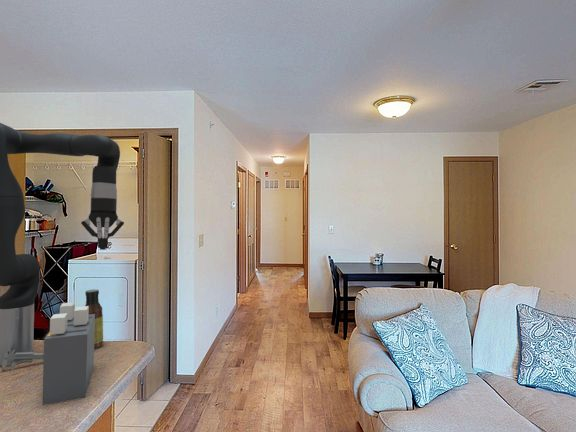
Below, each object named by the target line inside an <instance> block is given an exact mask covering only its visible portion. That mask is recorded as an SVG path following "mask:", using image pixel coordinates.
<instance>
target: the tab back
mask: <svg viewBox="0 0 576 432" xmlns="http://www.w3.org/2000/svg"><path fill="white" fill-rule="evenodd" d="M75 308H76V302H75V301H74V302H62V303H61V304H60V306H59V314H64V313H68V314H67V320H72V319H73V317H74V310H75Z"/></svg>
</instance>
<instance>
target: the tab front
mask: <svg viewBox="0 0 576 432" xmlns="http://www.w3.org/2000/svg"><path fill="white" fill-rule="evenodd" d="M67 314H68V313H64V314H60V313H56V314H55V313H54V314H52V316H51V317H50V318H49V332H50V335H54V334H63V333H65V331H66V329H67Z"/></svg>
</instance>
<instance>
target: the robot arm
mask: <svg viewBox="0 0 576 432" xmlns="http://www.w3.org/2000/svg"><path fill="white" fill-rule="evenodd" d="M18 154H19V155H21V154H50V155H58V156H59V155H60V156H69V157H85V156H91V157H97V158H98V159H97V164H96V165H95V166H93V168H92V171H91V172H92V174H91V175H92V176H91V177H92V178H91V181H92V182H91V188H90V213H89V214H88V218H86V219H84V220H82V221H81V223H80V224H81V225H82V226H83V227H84V228H85V230H86V231H87V232H88V233H89V235H90V236H92V237H95V238H97V248H98V249H99V250H102V251H104V250H106V249H107V248H108V246H109V238H111V237H114V235H116V233H117V232H118V231H119V230H120V229H121V228H122V226H124V224H125V222H124V221H122V220H121V219H119V216H118V214H117V201H118V200H117V199H118V190H117V170H118V167H119V163H120V158H121V150H120V146H119V144H118V142H117V141H115V140H113V139H112V138H109V137H108V136H106V135H102V134H75V133H73V134H72V133H64V132H63V133H60V132H57V133H55V132H53V133H45V134H42V133H41V134H36V133H35V134H34V133H29V132H25V131H20V130H17V129H15V128H13V127H11V126H9V125H6V124H4V123H2V122H0V287H9V288H8V290H6V292H4V293H3V294H2V295H1V296H0V367H2V361H3V358H4V356H5V353H8V352H9V349H10V352H12V351H13V350H14V349H15V351H14V354H15V353H25V352H34V327H35V326H34V325H35V324H34V323H35V299H36V297H37V296H38V291H39V283H40V282H39V280H40V264H39V261H38V259H37V257H35V255H32V254H31V253H21V254H20V253H19V254H16V253H17V252H16V237H17V234H18V231H19V229H20V227H21V225H22V223H23V221H24V218H25V215H26V205H25V196H24V192H23V189H22V187H21V185H20V183H19V182H18V179H17V178H16V176H15V174H14V173H13V171H12V169H11V167H10V163H9V162H10V161H9V156H8V155H18ZM115 222H116V223H115ZM91 223H92V224H93V226H94V227H95V228H96V231H97V232H96V231H94V229H93V228H92V227H91ZM114 224H115V225H116V226H115V227H114V228H113V230H112V231H111V232H110V228H111V227H112V226H113V225H114ZM103 228H104V229H103ZM10 354H11V353H10ZM12 362H13V360H8V363H7V365H6V367H8V366H11V365H12ZM21 363H23V362H21V361H18V362H17V364H16V365H18V364H21Z"/></svg>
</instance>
